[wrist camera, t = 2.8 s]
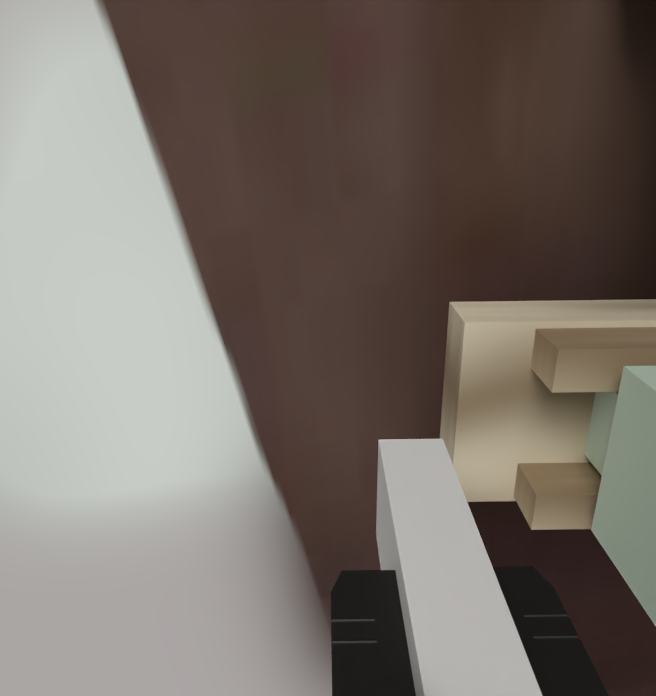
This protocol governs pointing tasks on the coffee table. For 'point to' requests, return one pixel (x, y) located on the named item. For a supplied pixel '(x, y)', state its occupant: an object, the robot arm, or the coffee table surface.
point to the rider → (627, 479)
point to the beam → (536, 398)
